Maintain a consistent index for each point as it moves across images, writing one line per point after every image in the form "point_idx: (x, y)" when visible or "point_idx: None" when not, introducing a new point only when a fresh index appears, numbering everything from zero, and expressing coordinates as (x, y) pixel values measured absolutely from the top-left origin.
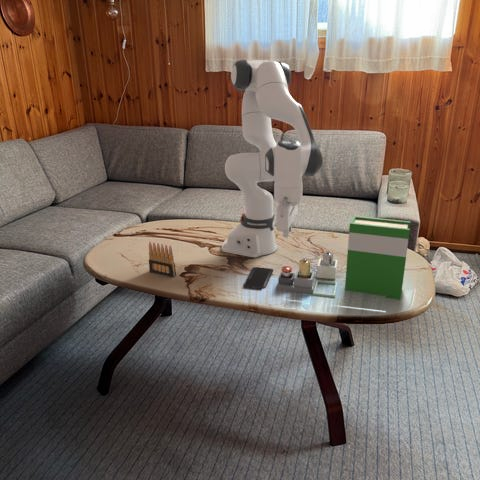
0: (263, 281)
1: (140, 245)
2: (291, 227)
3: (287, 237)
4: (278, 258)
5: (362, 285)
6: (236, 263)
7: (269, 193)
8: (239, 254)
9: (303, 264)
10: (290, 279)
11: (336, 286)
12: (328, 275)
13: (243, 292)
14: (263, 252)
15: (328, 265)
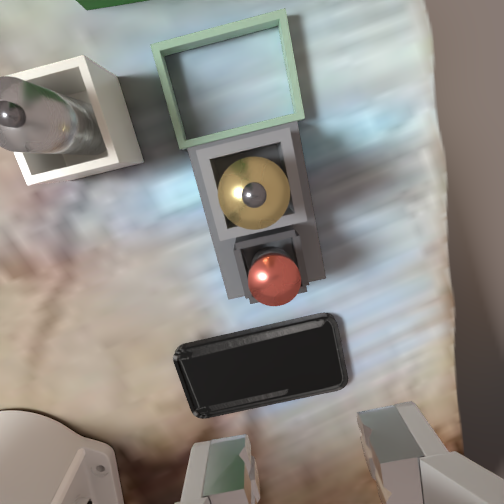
0: (284, 341)
1: None
2: (212, 485)
3: (411, 405)
4: (63, 373)
5: None
6: None
7: None
8: (122, 498)
9: (289, 189)
10: (299, 238)
11: (196, 32)
12: (119, 106)
13: (377, 366)
14: (67, 440)
15: (79, 108)
